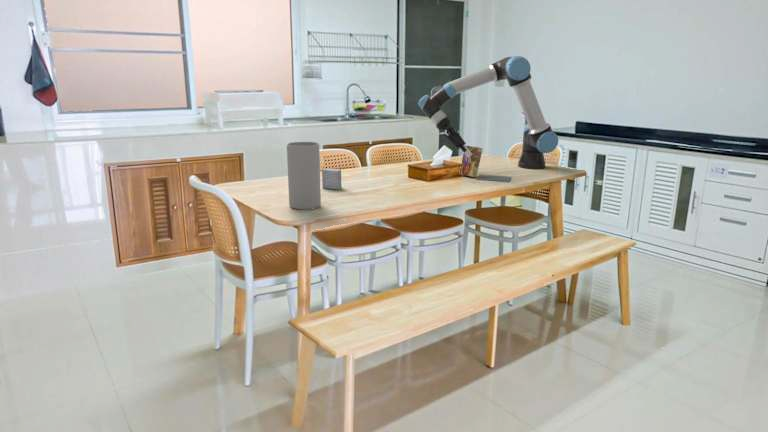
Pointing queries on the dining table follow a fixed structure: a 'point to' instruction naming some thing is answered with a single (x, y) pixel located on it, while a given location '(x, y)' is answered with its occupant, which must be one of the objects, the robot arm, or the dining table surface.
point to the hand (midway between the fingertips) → (470, 155)
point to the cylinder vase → (303, 175)
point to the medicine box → (331, 178)
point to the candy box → (471, 162)
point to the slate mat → (494, 178)
